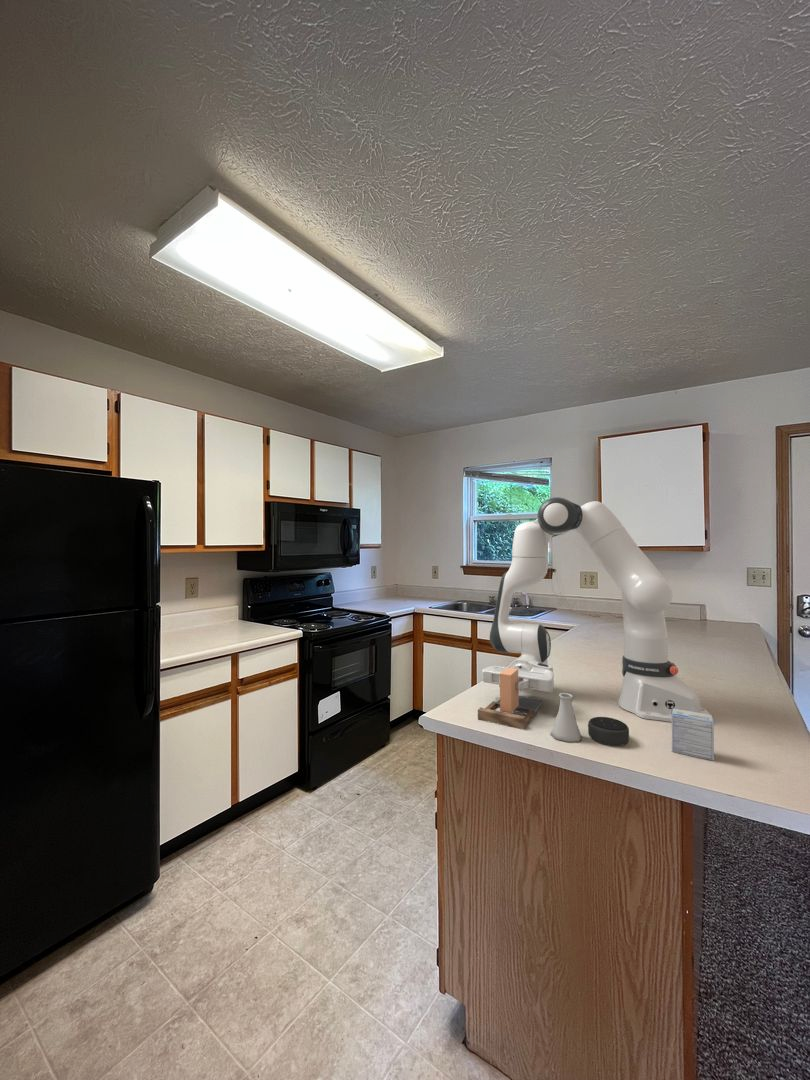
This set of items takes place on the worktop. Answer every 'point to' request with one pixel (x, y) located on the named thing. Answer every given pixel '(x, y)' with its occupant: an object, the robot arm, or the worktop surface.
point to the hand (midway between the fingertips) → (509, 685)
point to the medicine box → (693, 734)
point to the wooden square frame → (506, 715)
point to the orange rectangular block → (508, 690)
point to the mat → (529, 702)
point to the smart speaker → (608, 731)
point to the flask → (566, 721)
